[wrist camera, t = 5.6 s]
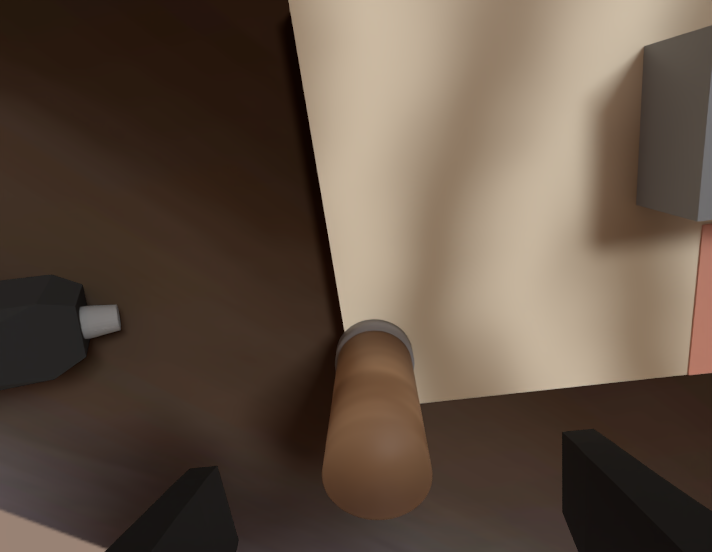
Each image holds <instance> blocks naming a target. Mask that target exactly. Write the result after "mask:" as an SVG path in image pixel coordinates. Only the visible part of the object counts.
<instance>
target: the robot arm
mask: <svg viewBox="0 0 712 552" xmlns="http://www.w3.org/2000/svg"><path fill="white" fill-rule="evenodd" d="M562 509H563V515H564V517H565V520H566V522H567V525H568V527H569V530H570V532H571V535H572V537H573V540H574V542H575V545H576V547H577V549H578V552H712V511H711V510H709V509H708V508H706V507H705V506H703V505H702V504H700V503H699V502H697V501H696V500H694V499H693V498H691V497H690V496H688V495H687V494H685V493H684V492H682V491H681V490H680V489H678V488H677V487H675V486H674V485H672V484H671V483H669V482H668V481H667V480H665V479H664V478H662V477H661V476H659V475H658V474H657V473H655V472H654V471H652V470H651V469H649V468H648V467H647V466H645V465H644V464H642V463H641V462H640V461H638V460H637V459H635V458H634V457H633V456H631V455H630V454H628V453H627V452H626V451H624V450H623V449H621V448H620V447H619V446H617V445H616V444H614V443H613V442H612V441H610V440H609V439H607V438H606V437H604V436H603V435H602V434H600V433H599V432H597V431H596V430H594V429H588V430H578V431H567V432H562ZM237 545H238V536H237V533H236V529H235V526H234V522H233V519H232V515H231V512H230V509H229V505H228V502H227V498H226V495H225V491H224V488H223V484H222V481H221V477H220V474H219V470H218V467H217V466H212V467H202V468H192V469H189V470H188V471H187V472H186V473H185V474H184V475H182V476H181V477H180V478H179V479H178V480H177V481H176V482H175V483H174V484H173V485H172V486H171V487H170V488H169V489H168V490H167V491H166V492H165V493H164V494H163V495H162V496H161V497H160V498H159V499H158V500H157V501H156V502H155V503H154V504H153V505H152V506H151V507H150V508H149V509H148V510H147V511H146V512H145V513H144V514H143V515H142V516H141V517H140V518H139V519H138V520H137V521H136V522H135V523H134V524H133V525H132V526H131V527H130V528H129V529H128V530H127V531H126V532H125V533H124V534H122V535H121V536H120V537H119V538H118V539H117V540H116V541H115V542H114V543H113V544H112V545H111V546H110V547H109V548H108V549H107V550H106V551H105V552H236V550H237Z"/></svg>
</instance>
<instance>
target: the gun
mask: <svg viewBox="0 0 712 552" xmlns="http://www.w3.org/2000/svg"><path fill="white" fill-rule="evenodd" d="M119 330H121V323H120V316H119V310H118V306H117V305H97V306H87V304H86V299H85V295H84V290H83V285H82V284H79V283H76V282H73V281H70V280H67V279H64V278H61V277H58V276H55V275H44V276H36V277H27V278H19V279H10V280H2V281H0V390H4V389H9V388H14V387H19V386H24V385H29V384H34V383H39V382H44V381H49V380H54V379H55V378H57V377H58V376H60V375H61V374H63V373H64V372H65V371H67V370H68V369H70V368H71V367H72V366H74V365H75V364H77V363H78V362H80V361H81V360H82V359H84V358H85V357H86V355H87V350H88V346H89V341H90V338H94V337H98V336H101V335H105V334H108V333H112V332H115V331H119Z"/></svg>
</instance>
